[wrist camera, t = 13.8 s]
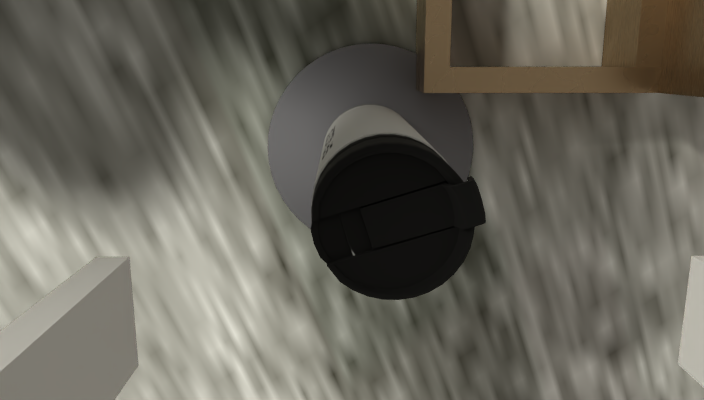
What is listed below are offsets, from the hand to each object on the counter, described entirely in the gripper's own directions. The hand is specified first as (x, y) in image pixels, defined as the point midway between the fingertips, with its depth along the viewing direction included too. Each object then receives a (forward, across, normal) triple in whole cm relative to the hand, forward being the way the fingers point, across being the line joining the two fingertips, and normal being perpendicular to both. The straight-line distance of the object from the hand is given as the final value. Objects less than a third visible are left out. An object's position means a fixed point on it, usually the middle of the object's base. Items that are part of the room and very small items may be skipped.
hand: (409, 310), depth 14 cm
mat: (+29, 0, 0) cm, 29 cm away
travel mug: (+28, 0, 0) cm, 28 cm away
